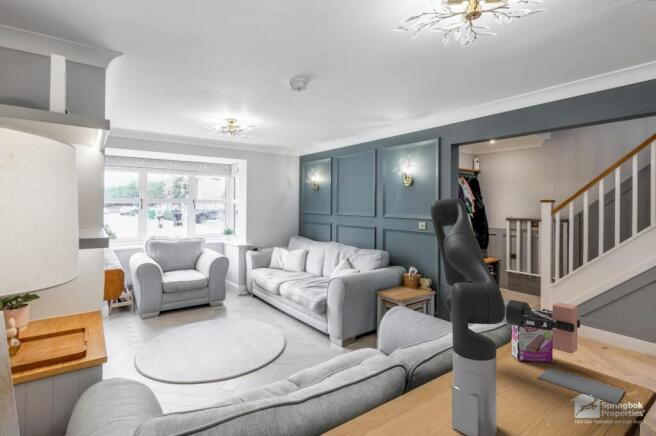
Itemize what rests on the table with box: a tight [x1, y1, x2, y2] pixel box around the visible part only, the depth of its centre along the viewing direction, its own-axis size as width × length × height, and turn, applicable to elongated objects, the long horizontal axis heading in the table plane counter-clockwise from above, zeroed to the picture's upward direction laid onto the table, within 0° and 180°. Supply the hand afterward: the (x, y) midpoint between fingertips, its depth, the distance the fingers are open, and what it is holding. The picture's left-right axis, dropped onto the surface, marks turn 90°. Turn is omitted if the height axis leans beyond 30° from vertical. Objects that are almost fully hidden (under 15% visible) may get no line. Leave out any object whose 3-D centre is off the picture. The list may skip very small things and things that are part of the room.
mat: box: [537, 366, 626, 406], centre depth 94 cm, size 10×18×1 cm, turn 39°
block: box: [552, 302, 578, 355], centre depth 90 cm, size 4×4×12 cm
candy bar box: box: [511, 308, 554, 363], centre depth 111 cm, size 11×5×16 cm, turn 84°
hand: (576, 326), depth 88 cm, fingers closed on block, 4 cm apart
